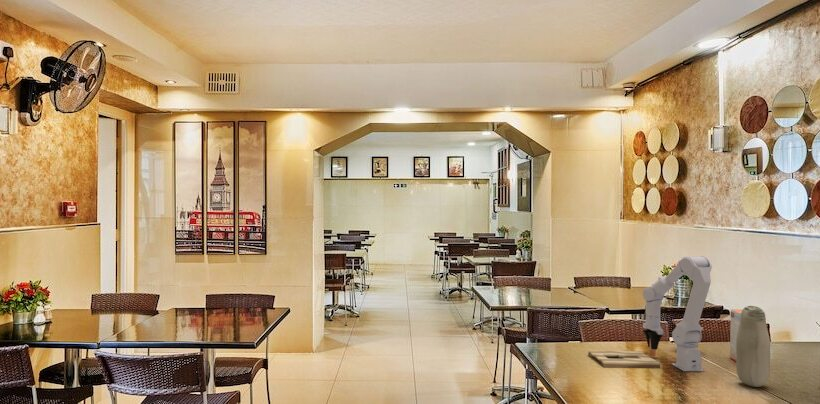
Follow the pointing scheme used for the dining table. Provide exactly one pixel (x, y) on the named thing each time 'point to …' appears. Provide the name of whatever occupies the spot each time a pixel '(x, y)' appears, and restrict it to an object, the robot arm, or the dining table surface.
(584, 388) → the dining table surface
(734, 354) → the cracker box
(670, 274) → the robot arm
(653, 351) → the keyhole peg
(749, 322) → the grey bottle
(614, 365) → the keyhole board
